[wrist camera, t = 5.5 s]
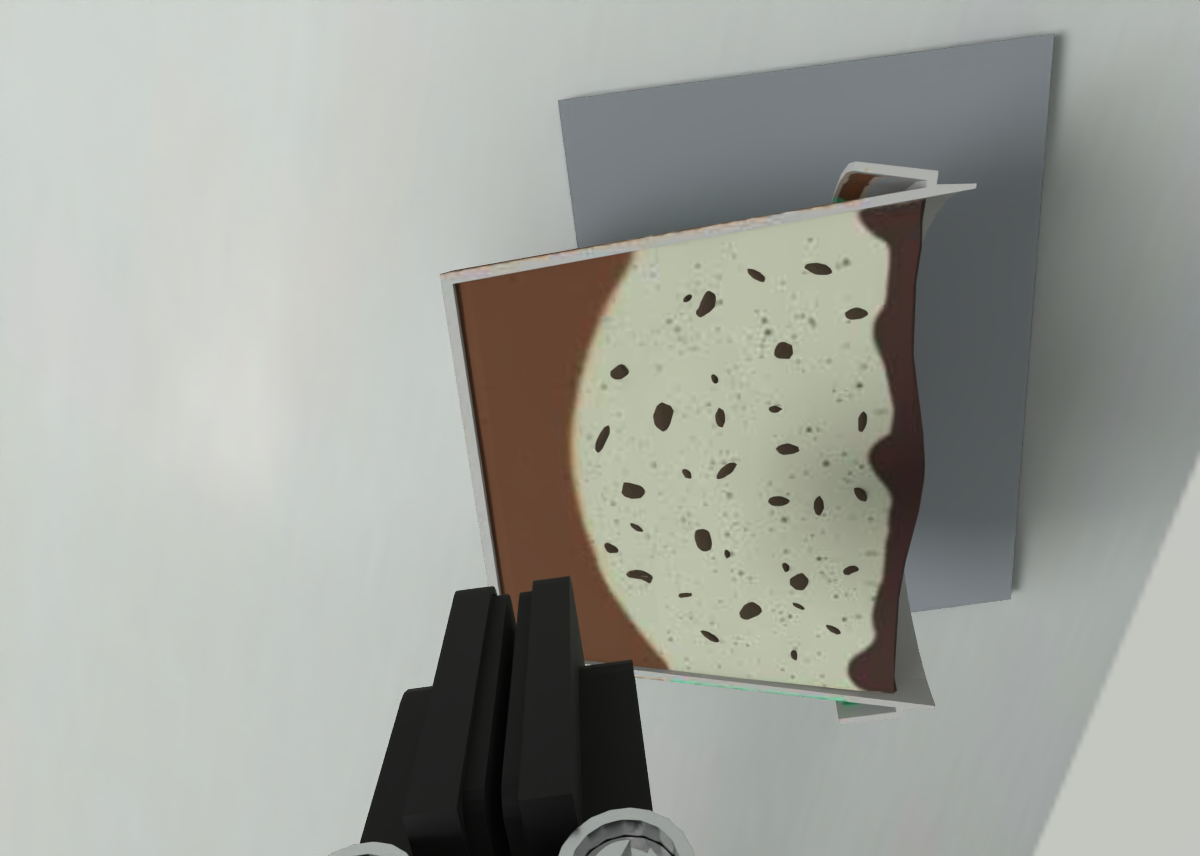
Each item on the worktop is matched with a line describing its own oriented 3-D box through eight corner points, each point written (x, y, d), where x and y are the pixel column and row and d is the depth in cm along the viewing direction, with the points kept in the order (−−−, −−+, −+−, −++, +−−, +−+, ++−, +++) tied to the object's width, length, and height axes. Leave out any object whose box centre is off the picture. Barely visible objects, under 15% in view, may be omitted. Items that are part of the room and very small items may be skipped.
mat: (558, 101, 19) (558, 100, 18) (1044, 35, 19) (1054, 34, 18) (630, 642, 24) (631, 649, 24) (1003, 592, 24) (1010, 599, 24)
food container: (558, 579, 25) (882, 582, 23) (507, 712, 19) (934, 728, 17) (510, 180, 21) (903, 147, 19) (427, 196, 15) (980, 151, 13)
